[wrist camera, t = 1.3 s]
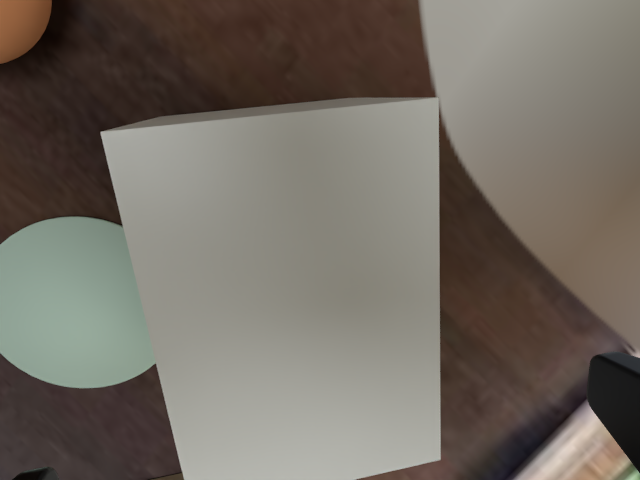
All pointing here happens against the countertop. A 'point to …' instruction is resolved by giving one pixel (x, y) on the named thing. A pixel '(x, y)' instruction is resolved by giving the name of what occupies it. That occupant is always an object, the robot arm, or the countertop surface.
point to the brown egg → (21, 26)
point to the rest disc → (72, 304)
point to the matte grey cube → (290, 283)
